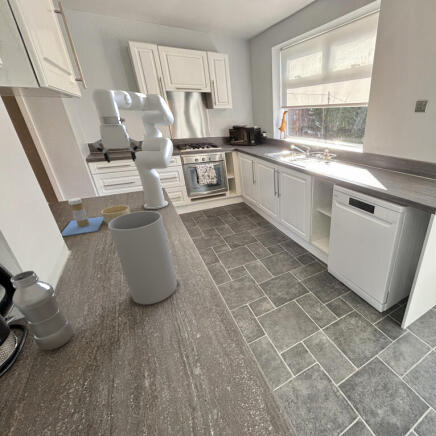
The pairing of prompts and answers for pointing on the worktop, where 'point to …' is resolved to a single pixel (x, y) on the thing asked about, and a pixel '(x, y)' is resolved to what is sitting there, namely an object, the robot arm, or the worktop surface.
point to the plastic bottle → (41, 310)
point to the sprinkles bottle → (79, 212)
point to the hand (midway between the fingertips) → (121, 161)
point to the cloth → (92, 227)
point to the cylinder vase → (144, 255)
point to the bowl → (114, 212)
